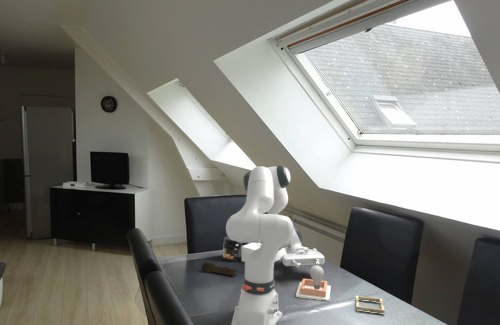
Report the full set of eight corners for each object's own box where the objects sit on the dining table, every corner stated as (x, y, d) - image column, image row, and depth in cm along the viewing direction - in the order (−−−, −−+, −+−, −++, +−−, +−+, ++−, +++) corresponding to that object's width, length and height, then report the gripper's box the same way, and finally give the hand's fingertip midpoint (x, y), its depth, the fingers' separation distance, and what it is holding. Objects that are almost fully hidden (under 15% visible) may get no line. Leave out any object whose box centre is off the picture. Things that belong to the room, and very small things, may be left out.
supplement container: (218, 259, 196) (219, 238, 195) (230, 254, 205) (231, 234, 204) (233, 263, 190) (234, 241, 189) (245, 258, 199) (245, 237, 198)
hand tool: (237, 275, 175) (237, 266, 174) (233, 278, 171) (233, 268, 171) (204, 268, 183) (204, 260, 183) (200, 271, 179) (200, 262, 179)
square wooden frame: (384, 315, 137) (384, 310, 136) (356, 311, 139) (356, 306, 139) (381, 303, 147) (382, 298, 146) (355, 299, 149) (355, 295, 149)
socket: (329, 301, 147) (329, 293, 147) (295, 297, 151) (295, 289, 151) (330, 287, 161) (330, 280, 160) (300, 284, 164) (300, 276, 164)
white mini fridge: (241, 261, 194) (241, 242, 193) (268, 250, 213) (268, 232, 213) (262, 268, 185) (262, 247, 184) (288, 255, 204) (288, 237, 203)
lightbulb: (314, 285, 160) (314, 262, 159) (326, 289, 156) (326, 265, 155) (307, 290, 156) (306, 266, 155) (319, 294, 152) (319, 269, 151)
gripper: (279, 250, 175) (286, 259, 161) (318, 248, 178) (329, 257, 165) (279, 262, 176) (286, 273, 162) (318, 260, 179) (328, 270, 165)
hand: (308, 265), depth 163 cm, fingers open, 8 cm apart
